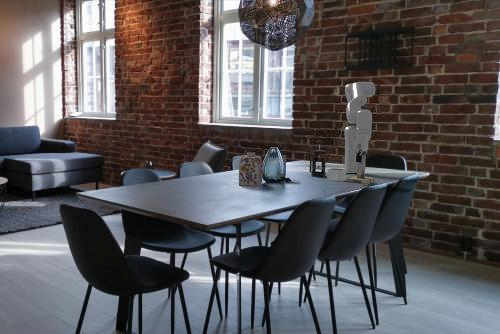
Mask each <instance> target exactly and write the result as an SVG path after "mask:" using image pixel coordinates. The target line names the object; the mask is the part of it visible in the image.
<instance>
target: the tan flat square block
mask: <svg viewBox="0 0 500 334" xmlns="http://www.w3.org/2000/svg"><path fill="white" fill-rule="evenodd" d="M346 179H347V180H346V181H347V183H355V184H362V185H364V184H369V183H372V182H374V183H375V177H368V176H365V178H364V179H359V178H357V175H356V176H355V175H354V176H352V177H348V178H347V177H346Z"/></svg>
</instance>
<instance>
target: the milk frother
mask: <svg viewBox="0 0 500 334" xmlns="http://www.w3.org/2000/svg"><path fill="white" fill-rule="evenodd" d="M281 155H282V158H283V160H284V163H285V168H287V167H286V166H287V155H285V154H281ZM286 174H287V173H286ZM286 174H285V177H280V178H282V179H283V180H282V181H285V182H287V183H289V182H292V179H291V178H290V177H286V176H287V175H286Z"/></svg>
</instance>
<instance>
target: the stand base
mask: <svg viewBox="0 0 500 334" xmlns="http://www.w3.org/2000/svg"><path fill="white" fill-rule="evenodd" d="M346 170H347V169H344V168H338V167H337V168H336V167H332V168H328V169H327V171H326V178H324V179H323V181H333V182H346V181H347V174H346Z"/></svg>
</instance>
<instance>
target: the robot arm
mask: <svg viewBox="0 0 500 334" xmlns="http://www.w3.org/2000/svg"><path fill="white" fill-rule="evenodd" d="M344 88H345V89H344V93H345V98H346V101H347V106H346V109H345V111H346V119H347V122H348V123H349V124H351V125H349V126H347V127H345V128H344V131H343V133H344V143H345V144H344V145H345V146H344V168H343V169H347V170H346V173H357V168H358V162H362V155H361V154H362V153H366V161H365V162H368V154H369V152H368V151H369V140H370V139H371V138H372V130H373V129H372V127H373V126H372V124H373V115H372V114H373V113H372V112H371V110H369V109H362V107H363V106H365V105H366V103H367V102H368V99H367V98H371V97H373V96H375V94H376V85H375V83H374V82H372V81H357V82H354V83H348V84H346V85H345V87H344ZM353 124H354V125H353Z"/></svg>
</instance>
